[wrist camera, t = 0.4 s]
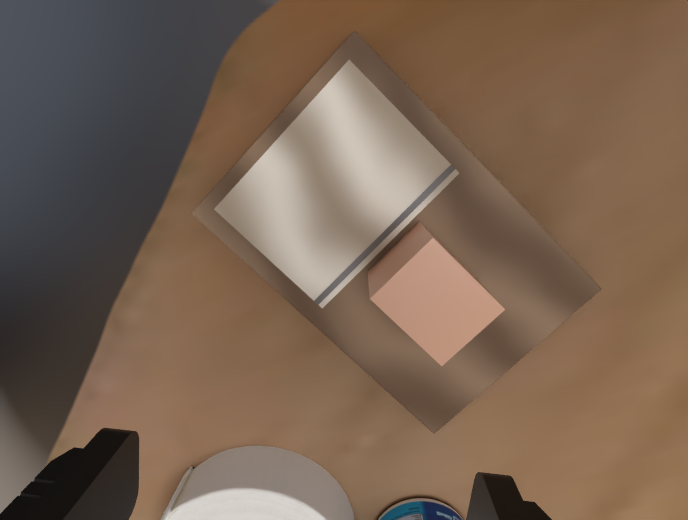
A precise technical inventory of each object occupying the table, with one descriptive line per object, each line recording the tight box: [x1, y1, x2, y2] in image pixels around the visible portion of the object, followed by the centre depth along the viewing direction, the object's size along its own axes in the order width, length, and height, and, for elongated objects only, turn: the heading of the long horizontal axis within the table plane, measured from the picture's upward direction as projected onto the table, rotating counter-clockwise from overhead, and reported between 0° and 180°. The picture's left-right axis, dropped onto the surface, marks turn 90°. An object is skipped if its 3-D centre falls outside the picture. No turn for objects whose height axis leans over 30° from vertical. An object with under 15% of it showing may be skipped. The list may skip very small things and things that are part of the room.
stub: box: [368, 221, 505, 366], centre depth 31 cm, size 5×6×6 cm
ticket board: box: [191, 31, 601, 433], centre depth 34 cm, size 16×24×2 cm, turn 46°
